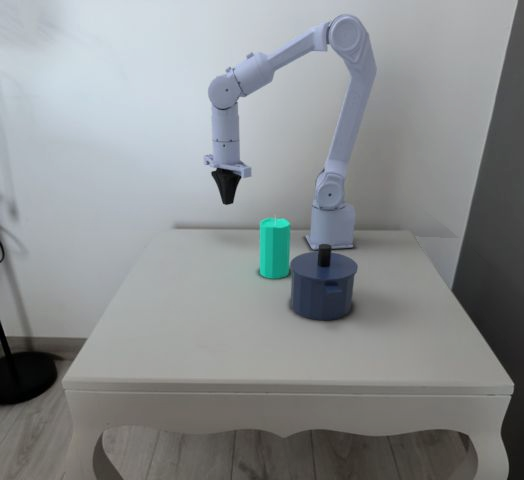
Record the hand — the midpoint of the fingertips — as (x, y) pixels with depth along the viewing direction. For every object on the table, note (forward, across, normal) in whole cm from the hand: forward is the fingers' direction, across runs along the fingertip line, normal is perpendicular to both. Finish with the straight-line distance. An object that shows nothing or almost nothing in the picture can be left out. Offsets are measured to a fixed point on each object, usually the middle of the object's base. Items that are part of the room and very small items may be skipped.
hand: (228, 203), depth 115 cm
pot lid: (+1, +36, -7) cm, 37 cm away
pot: (+8, +36, -7) cm, 38 cm away
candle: (+9, +20, -4) cm, 22 cm away
